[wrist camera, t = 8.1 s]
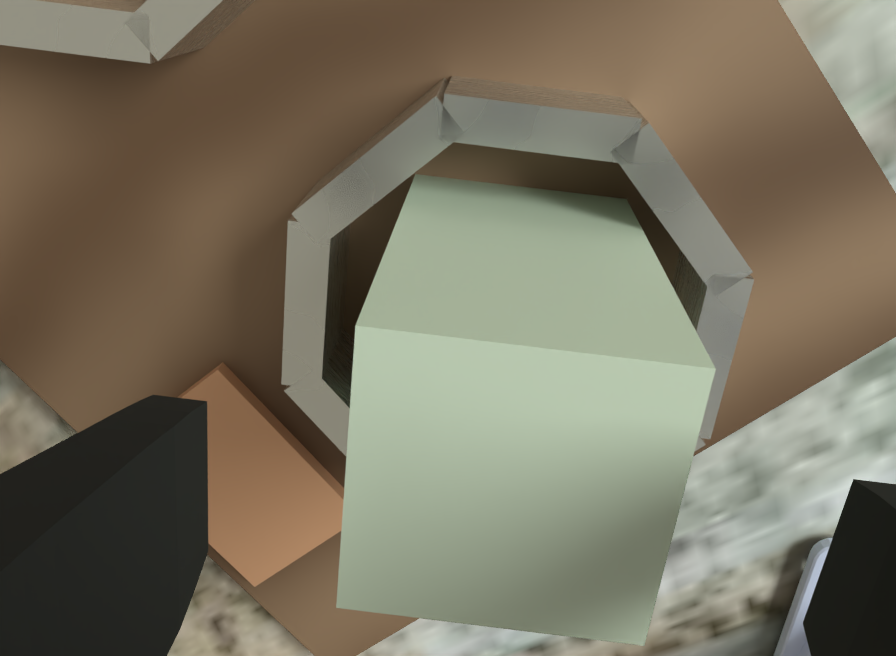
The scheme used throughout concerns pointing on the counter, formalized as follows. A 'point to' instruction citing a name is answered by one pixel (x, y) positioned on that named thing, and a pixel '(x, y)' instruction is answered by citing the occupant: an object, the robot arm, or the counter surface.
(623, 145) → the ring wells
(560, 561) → the sage plug
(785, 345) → the walnut board
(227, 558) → the tags
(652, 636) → the counter surface
